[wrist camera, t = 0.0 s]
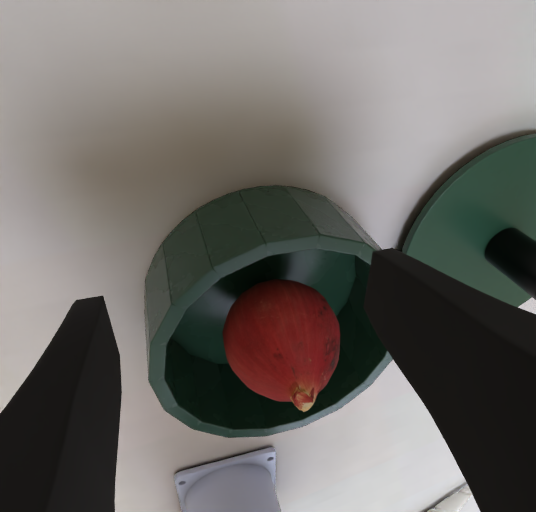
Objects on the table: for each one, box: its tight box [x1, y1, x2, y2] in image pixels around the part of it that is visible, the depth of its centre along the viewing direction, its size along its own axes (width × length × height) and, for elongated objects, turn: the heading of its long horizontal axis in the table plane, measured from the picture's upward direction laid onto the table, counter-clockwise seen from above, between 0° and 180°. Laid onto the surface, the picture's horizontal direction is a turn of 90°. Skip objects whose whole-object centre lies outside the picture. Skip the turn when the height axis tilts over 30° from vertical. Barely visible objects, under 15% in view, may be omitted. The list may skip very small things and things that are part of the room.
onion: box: [222, 279, 340, 412], centre depth 21 cm, size 6×6×8 cm
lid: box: [402, 134, 536, 307], centre depth 25 cm, size 14×14×5 cm
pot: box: [144, 185, 393, 438], centre depth 22 cm, size 13×13×5 cm
